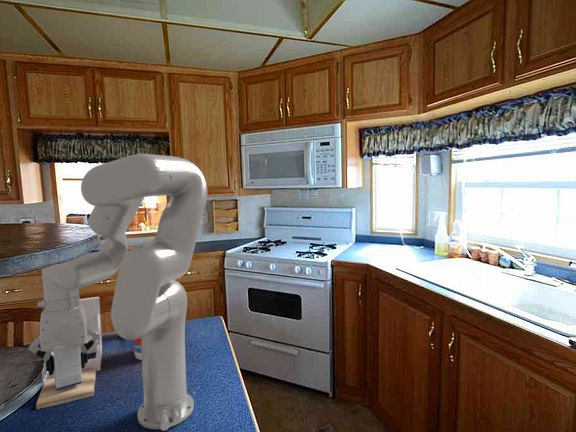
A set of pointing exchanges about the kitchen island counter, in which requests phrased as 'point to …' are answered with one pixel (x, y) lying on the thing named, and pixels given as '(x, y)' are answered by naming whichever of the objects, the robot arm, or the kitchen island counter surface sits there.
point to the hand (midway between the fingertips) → (67, 368)
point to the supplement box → (67, 367)
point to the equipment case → (94, 323)
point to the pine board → (66, 391)
